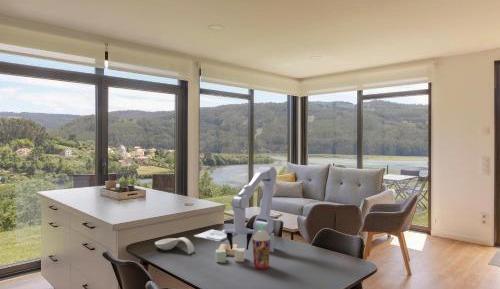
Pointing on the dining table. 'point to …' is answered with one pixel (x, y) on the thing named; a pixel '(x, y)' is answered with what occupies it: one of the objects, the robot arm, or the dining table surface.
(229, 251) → the oak base
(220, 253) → the sage block
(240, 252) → the cream block
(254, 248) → the smoothie
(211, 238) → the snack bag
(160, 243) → the spoon rest
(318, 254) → the dining table surface
